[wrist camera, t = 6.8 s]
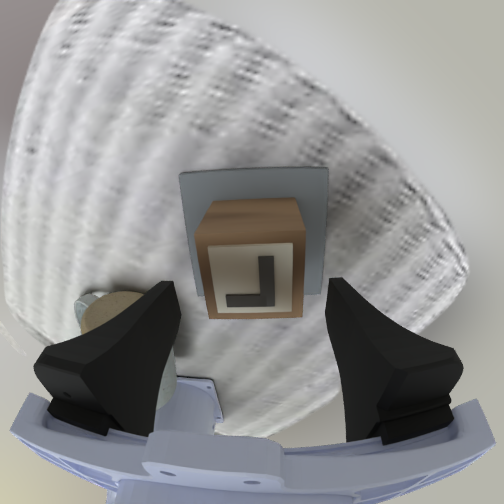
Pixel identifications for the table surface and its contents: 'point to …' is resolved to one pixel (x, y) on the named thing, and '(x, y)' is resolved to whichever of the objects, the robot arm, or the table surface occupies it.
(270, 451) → the robot arm
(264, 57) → the table surface
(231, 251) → the letter cube
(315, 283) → the slate mat
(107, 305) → the ceramic mug
